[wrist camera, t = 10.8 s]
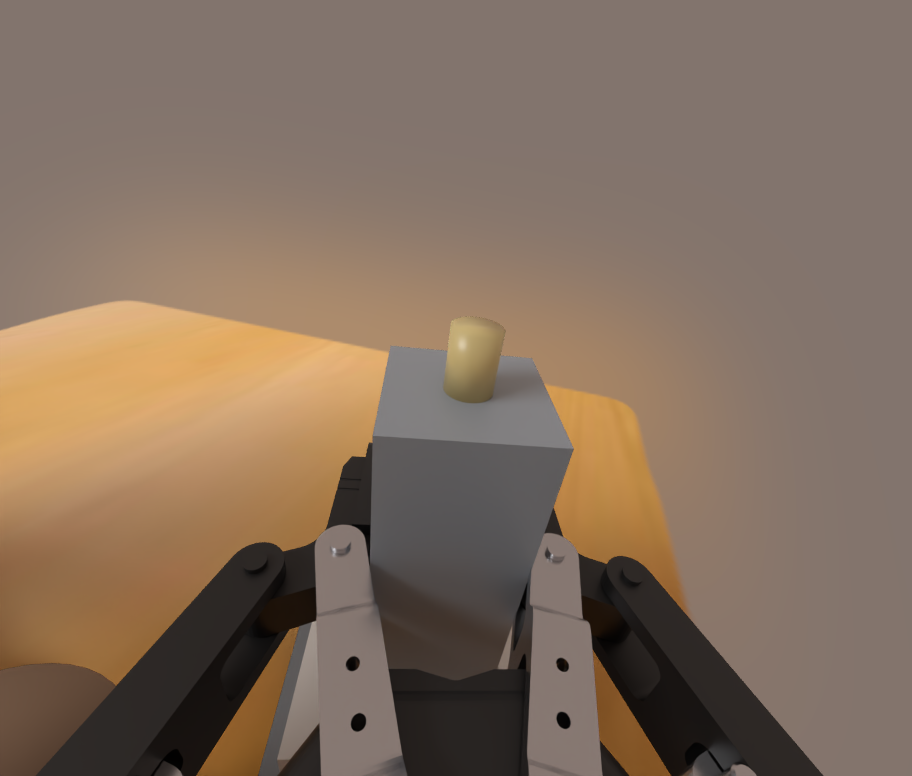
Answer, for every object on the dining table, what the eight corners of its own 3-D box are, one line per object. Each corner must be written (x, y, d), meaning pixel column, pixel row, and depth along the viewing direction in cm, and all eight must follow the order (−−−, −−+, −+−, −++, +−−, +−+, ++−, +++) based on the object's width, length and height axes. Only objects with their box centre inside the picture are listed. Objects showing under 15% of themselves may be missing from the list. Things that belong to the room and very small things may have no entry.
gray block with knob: (486, 700, 14) (597, 380, 7) (366, 700, 13) (374, 361, 7) (475, 589, 17) (544, 304, 11) (379, 586, 17) (393, 289, 10)
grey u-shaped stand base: (598, 969, 12) (630, 948, 11) (203, 1002, 11) (179, 983, 9) (513, 560, 24) (523, 525, 23) (323, 555, 23) (320, 517, 22)
